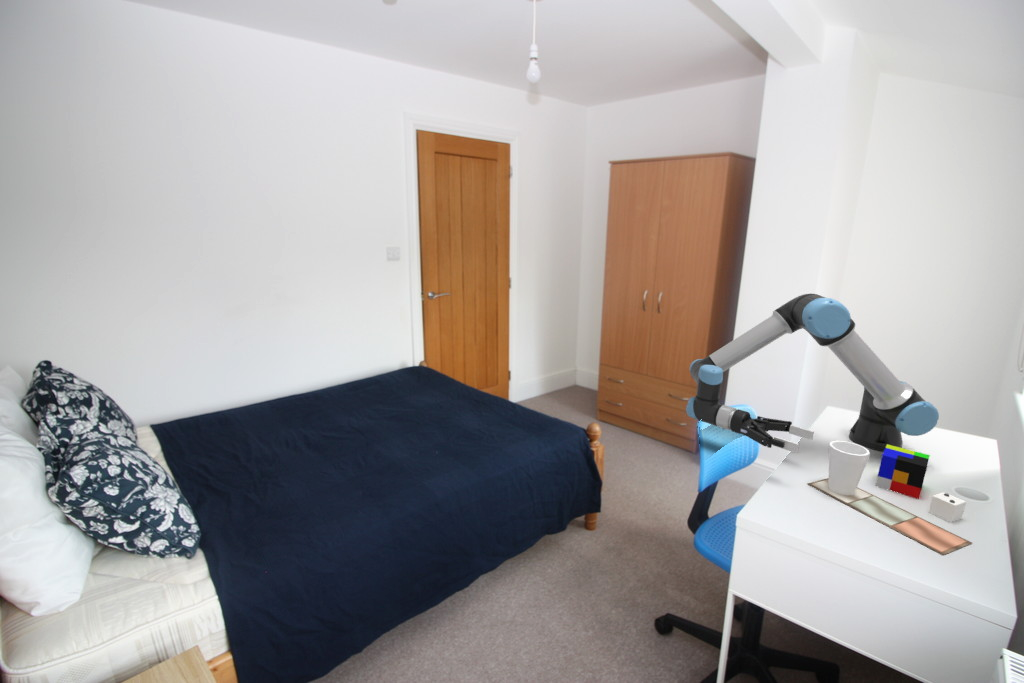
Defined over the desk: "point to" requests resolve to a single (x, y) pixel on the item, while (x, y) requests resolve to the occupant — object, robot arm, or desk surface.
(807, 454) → the desk surface
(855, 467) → the foam cup
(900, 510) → the color swatch strip
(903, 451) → the puzzle toy
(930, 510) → the die
